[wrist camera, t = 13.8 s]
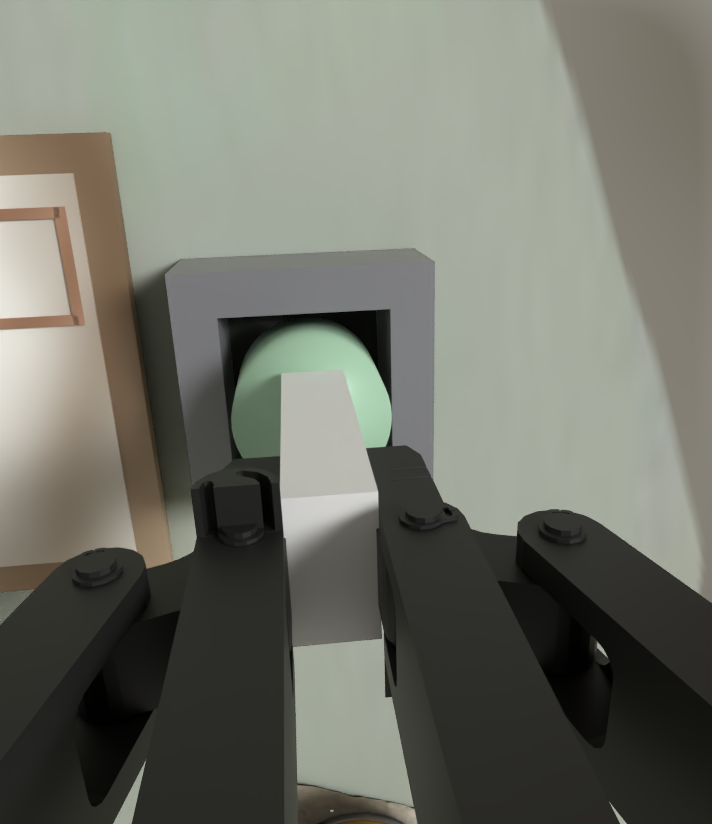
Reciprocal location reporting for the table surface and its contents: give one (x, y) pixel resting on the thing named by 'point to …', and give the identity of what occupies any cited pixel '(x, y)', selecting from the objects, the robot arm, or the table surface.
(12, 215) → the framed board
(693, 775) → the robot arm
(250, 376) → the button
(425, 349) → the button box
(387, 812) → the condiment
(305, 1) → the table surface
